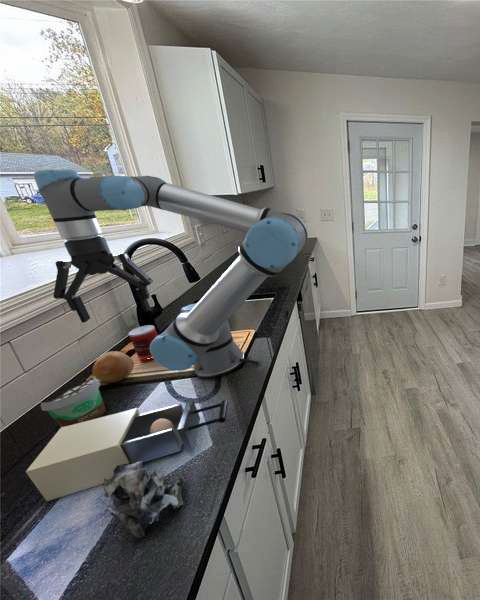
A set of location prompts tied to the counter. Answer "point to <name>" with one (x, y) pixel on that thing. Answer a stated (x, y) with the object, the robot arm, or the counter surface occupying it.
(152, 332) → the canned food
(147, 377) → the counter surface
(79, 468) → the cream drawer box
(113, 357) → the onion
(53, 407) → the food container
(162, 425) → the egg
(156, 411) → the grey drawer
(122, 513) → the foil
